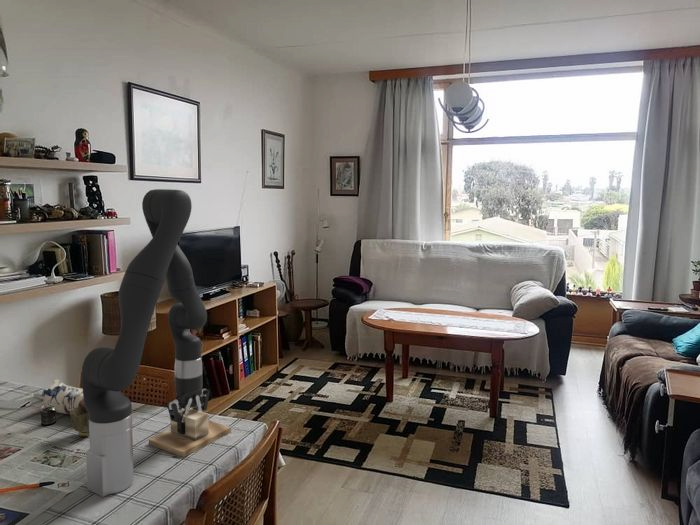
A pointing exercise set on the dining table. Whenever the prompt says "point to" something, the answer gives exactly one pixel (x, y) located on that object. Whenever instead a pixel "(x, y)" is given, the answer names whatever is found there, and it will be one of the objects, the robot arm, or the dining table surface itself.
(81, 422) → the cup
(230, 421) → the dining table surface
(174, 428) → the block
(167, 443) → the oak board
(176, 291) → the robot arm
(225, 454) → the dining table surface
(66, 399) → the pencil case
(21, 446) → the dining table surface
